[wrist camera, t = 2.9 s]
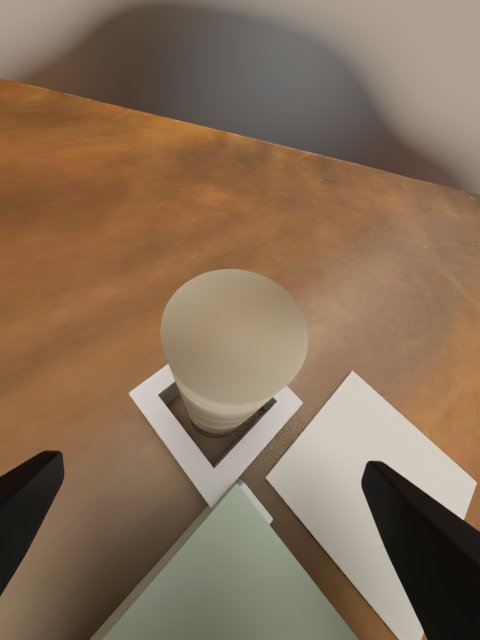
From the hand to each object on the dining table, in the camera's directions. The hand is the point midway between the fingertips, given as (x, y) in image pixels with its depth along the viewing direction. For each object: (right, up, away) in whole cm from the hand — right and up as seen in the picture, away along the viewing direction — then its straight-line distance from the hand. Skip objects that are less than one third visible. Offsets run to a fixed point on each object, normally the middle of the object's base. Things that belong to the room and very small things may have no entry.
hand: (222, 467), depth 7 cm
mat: (+10, -7, +10) cm, 15 cm away
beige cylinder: (-1, -2, +11) cm, 11 cm away
